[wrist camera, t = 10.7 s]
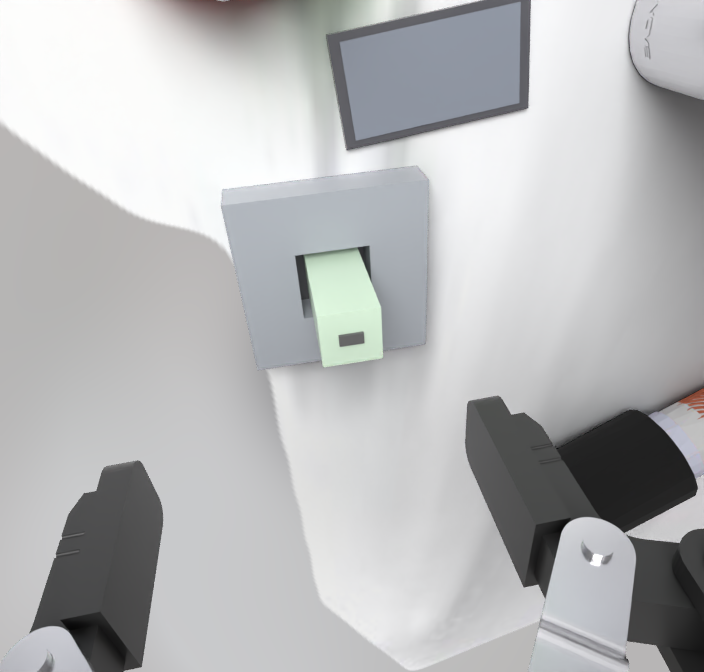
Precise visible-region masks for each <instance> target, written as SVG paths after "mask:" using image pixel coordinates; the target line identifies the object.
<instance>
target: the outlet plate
mask: <svg viewBox="0 0 704 672" xmlns="http://www.w3.org/2000/svg"><path fill="white" fill-rule="evenodd" d="M428 196H429V179H428V178H427V177H426V176H425V174H424V173H423V172H422V171H421V170H420V169H419V167H418V166H411V167H403V168H395V169H387V170H378V171H370V172H362V173H354V174H346V175H338V176H330V177H322V178H314V179H305V180H297V181H289V182H281V183H273V184H265V185H257V186H249V187H241V188H232V189H224V190H222V200H221V208H222V213H223V217H224V222H225V226H226V231H227V235H228V240H229V244H230V249H231V253H232V257H233V262H234V266H235V271H236V275H237V280H238V284H239V289H240V293H241V298H242V302H243V307H244V311H245V316H246V320H247V325H248V329H249V334H250V338H251V342H252V347H253V351H254V356H255V360H256V365H257V369H258V370H263V369H270V368H276V367H283V366H289V365H295V364H302V363H308V362H315V361H321V360H322V359H321V354H320V349H319V344H318V339H317V334H316V328H315V323H314V318H313V313H312V308H311V303H310V298H309V293H308V286H307V278H306V271H305V264H304V256H303V255H304V254H311V253H319V252H326V251H333V250H341V249H348V248H355V247H357V248H358V250H359V253H360V255H361V258H362V260H363V263H364V265H365V268H366V270H367V273H368V275H369V278H370V281H371V283H372V286H373V288H374V291H375V293H376V296H377V298H378V301H379V303H380V306H381V317H382V342H383V351H385V350H391V349H398V348H404V347H410V346H417V345H423V344H426V302H427V249H428Z"/></svg>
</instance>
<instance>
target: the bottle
mask: <svg viewBox="0 0 704 672" xmlns="http://www.w3.org/2000/svg"><path fill="white" fill-rule="evenodd" d="M556 450H557V451H558V453H559V455H560V456H561V460H562V461H564V462H565V464H566V466H567V467H568V469H569V470H570V472H571V473H572V475H573V477H574V478H575V480H576V481H577V483H578V484H579V486H580V488H581V489H582V491H583V492H584V494H585V496H586V497H587V499H588V500H589V502H590V503H591V505H592V507H593V508H594V510H595V511H596V513H597V514H598V515H599V516H600V518H601V519H602V520H605V521H607V522H609V523H611V524H613V525H615V526H616V527H617V528H619V529H620V530H621V531H622V532H623V533H625V532H627V531H629V530H631V529H633V528H635V527H636V526H638V525H640V524H642V523H644V522H646V521H648V520H650V519H652V518H654V517H655V516H657V515H659V514H661V513H663V512H665V511H667V510H669V509H671V508H673V507H674V506H676V505H678V504H680V503H682V502H684V501H686V500H688V499H690V498H692V497H693V496H695V495H696V492H697V489H698V487H697V483H696V479H695V478H697V477H699V476H701V475H703V474H704V388H703V389H701V390H699V391H697V392H695V393H694V394H692V395H690V396H688V397H686V398H684V399H682V400H680V401H678V402H676V403H674V404H672V405H671V406H669V407H667V408H665V409H663V410H661V411H660V412H654V413H652V414H650V415H648V416H647V415H645V414H643V413H642V412H640V411H638V410H629V411H627V412H625V413H624V414H622V415H620V416H618V417H616V418H614V419H612V420H611V421H609V422H607V423H605V424H603V425H601V426H599V427H597V428H596V429H594V430H592V431H590V432H588V433H586V434H584V435H583V436H581V437H579V438H577V439H575V440H573V441H571V442H569V443H568V444H566V445H564V446H562V447H560V448H558V449H556Z"/></svg>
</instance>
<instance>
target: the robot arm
mask: <svg viewBox="0 0 704 672" xmlns="http://www.w3.org/2000/svg"><path fill="white" fill-rule="evenodd" d="M629 39H630V52H631V56H632V59H633V63H634V65H635V67H636V68H637V70H638V72H639V73H640V75H641V76H642V77H644V78H645V79H646V80H647V81H648V82H650V83H652V84H654V85H656V86H659V87H662V88H665V89H669V90H672V91H675V92H678V93H682V94H685V95H688V96H692V97H694V98H697V99H701V100H704V0H637V2H636V5H635V9H634V12H633V16H632V19H631V27H630V34H629ZM465 445H466V453H467V457H468V461H469V464H470V467H471V469H472V471H473V474H474V476H475V478H476V480H477V483H478V485H479V487H480V490H481V492H482V494H483V496H484V499H485V501H486V503H487V505H488V508H489V510H490V512H491V514H492V517H493V519H494V521H495V523H496V526H497V528H498V530H499V532H500V535H501V537H502V539H503V542H504V544H505V546H506V548H507V551H508V553H509V555H510V557H511V560H512V562H513V564H514V566H515V569H516V571H517V573H518V575H519V578H520V580H521V582H522V584H523V587H528V586H533V585H538V584H539V587H540V589H541V591H542V593H543V595H544V597H545V603H544V607H543V611H542V615H541V619H540V623H539V628H538V632H537V636H536V640H535V644H534V648H533V653H532V657H531V661H530V666H529V669H528V672H629V661H628V659H626V644H627V641H630V642H637V643H644V644H651V645H656V646H657V647H658V649H659V651H660V653H661V655H662V657H663V658H664V660H665V662H666V664H667V666H668V668H669V670H670V672H704V529H697V530H693V531H691V532H688V533H687V534H686V535H685V536H684V537H683V538H682V540H681V542H680V543H673V542H663V541H654V540H645V539H638V538H634V537H631V536H628V535H626V534H625V533H623V532H622V531H621V530H620V529H619V528H617V527H616V526H615V525H613V524H611V523H609V522H607V521H605V520H602V519H601V518H600V516H599V515H598V514H597V513H596V511H595V510H594V508H593V507H592V505H591V503H590V502H589V500H588V499H587V497H586V496H585V494H584V492H583V491H582V489H581V488H580V486H579V484H578V483H577V481H576V480H575V478H574V477H573V475H572V473H571V472H570V470H569V469H568V467H567V466H566V464H565V462H564V461H562V460H561V456H560V455H559V453H558V451H557V450H556V448H555V447H553V445H552V442H551V440H550V439H549V437H548V436H547V434H546V432H545V431H544V429H543V428H542V426H541V425H539V424H538V423H537V422H536V421H534V420H533V419H532V418H530V417H529V416H528V415H526V414H525V413H519V414H514V415H511V414H510V412H509V410H508V408H507V407H506V405H505V403H504V402H503V400H502V399H501V397H499V396H493V397H488V398H483V399H477V400H472V401H469V402H468V404H467V419H466V439H465ZM162 527H163V511H162V505H161V502H160V499H159V497H158V495H157V493H156V491H155V489H154V487H153V484H152V482H151V480H150V478H149V476H148V474H147V472H146V470H145V468H144V466H143V464H142V463H141V462H140V461H133V462H127V463H122V464H116V465H111V466H106V467H105V468H104V469H103V471H102V473H101V477H100V480H99V484H98V487H97V491H95V492H89V493H84V494H83V496H82V497H81V498H80V499H79V501H78V502H77V504H76V505H75V506H74V508H73V509H72V510H71V512H70V513H69V515H68V518H67V521H66V524H65V527H64V530H63V533H62V540H60V543H59V546H58V549H57V552H56V558H55V559H54V561H53V565H52V568H51V570H50V574H49V577H48V580H47V583H46V586H45V589H44V592H43V595H42V598H41V602H40V605H39V608H38V611H37V614H36V617H35V620H34V623H33V626H32V628H31V631H30V633H29V634H28V635H27V636H25V637H23V638H22V639H21V640H19V641H18V642H17V643H16V644H15V645H14V646H13V647H12V648H11V649H10V650H9V651H8V653H7V654H6V655H5V656H4V658H3V659H2V661H1V663H0V672H123V671H125V670H129V669H134V668H139V667H142V661H143V655H144V648H145V641H146V634H147V627H148V621H149V614H150V608H151V601H152V594H153V588H154V581H155V574H156V566H157V560H158V554H159V547H160V540H161V534H162Z"/></svg>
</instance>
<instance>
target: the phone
mask: <svg viewBox="0 0 704 672" xmlns="http://www.w3.org/2000/svg"><path fill="white" fill-rule="evenodd" d="M530 9H531V0H480V1H475V2H471V3H466V4H462V5H457V6H453V7H448V8H444V9H439V10H435V11H430V12H426V13H421V14H417V15H412V16H408V17H403V18H399V19H394V20H390V21H385V22H381V23H376V24H372V25H367V26H363V27H358V28H354V29H349V30H345V31H340V32H336V33H331V34H327V35H326V39H327V44H328V50H329V56H330V61H331V67H332V72H333V78H334V84H335V89H336V95H337V101H338V106H339V112H340V118H341V123H342V129H343V135H344V140H345V146H346V149H347V150H349V149H353V148H358V147H362V146H366V145H371V144H375V143H379V142H384V141H388V140H392V139H396V138H401V137H405V136H409V135H414V134H418V133H422V132H427V131H431V130H435V129H440V128H444V127H448V126H453V125H457V124H461V123H466V122H470V121H474V120H479V119H483V118H487V117H492V116H496V115H500V114H505V113H509V112H513V111H518V110H522V109H526V108H528V95H529V52H530Z"/></svg>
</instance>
